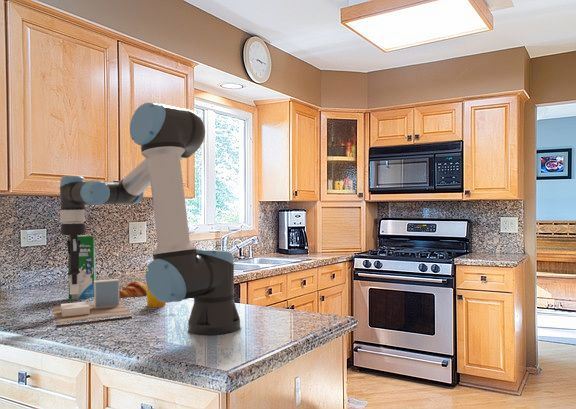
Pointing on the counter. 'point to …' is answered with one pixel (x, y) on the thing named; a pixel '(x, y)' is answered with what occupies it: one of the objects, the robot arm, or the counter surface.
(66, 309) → the tile
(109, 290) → the tile
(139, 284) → the croissant
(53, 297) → the counter surface
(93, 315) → the board
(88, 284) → the milk carton
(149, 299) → the beer can
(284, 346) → the counter surface
